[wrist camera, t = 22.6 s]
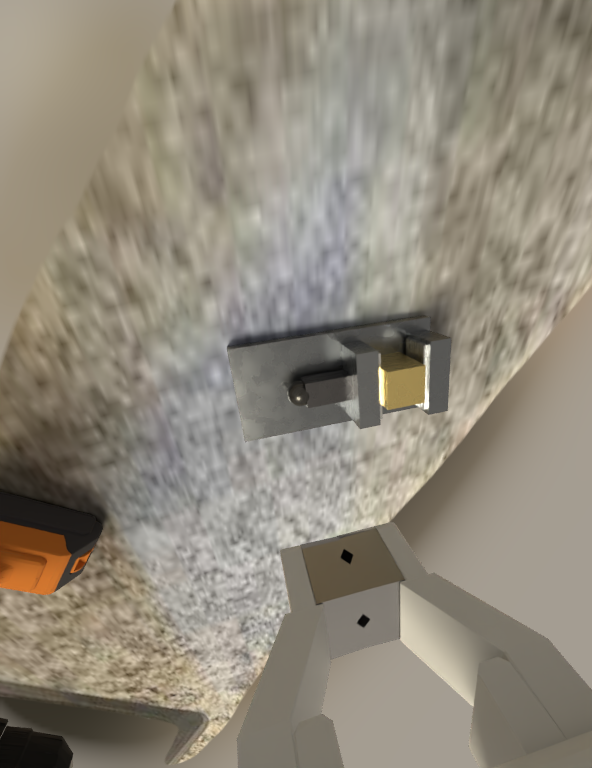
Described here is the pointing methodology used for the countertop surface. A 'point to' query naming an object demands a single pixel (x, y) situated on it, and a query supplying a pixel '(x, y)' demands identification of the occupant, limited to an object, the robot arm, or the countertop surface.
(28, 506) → the power drill
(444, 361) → the vise
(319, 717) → the robot arm
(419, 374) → the block
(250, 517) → the countertop surface
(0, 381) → the countertop surface
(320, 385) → the jaw
